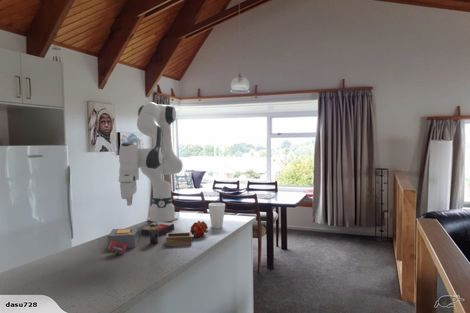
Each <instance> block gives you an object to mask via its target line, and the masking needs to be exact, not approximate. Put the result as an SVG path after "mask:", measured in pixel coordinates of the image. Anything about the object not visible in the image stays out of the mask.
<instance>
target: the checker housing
mask: <svg viewBox="0 0 470 313" xmlns="http://www.w3.org/2000/svg"><path fill="white" fill-rule="evenodd" d="M121 229H122V228H113V229H112V230H111V231H110V232H109V234H108V235H107V249H108V250H109V244H110V242H111V241H112V240H116V241H117V242H120V238H121V240H122V241H121V242H120V243H124V244H125V243H126V244H127V247H126V249H133V248H134V249H135V248H136V246H137V244H138V242H139V228H138V227H136V228H135V227H134V228H128V229H131V233H128V234H116V232H117V231H118V230H121Z"/></svg>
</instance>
